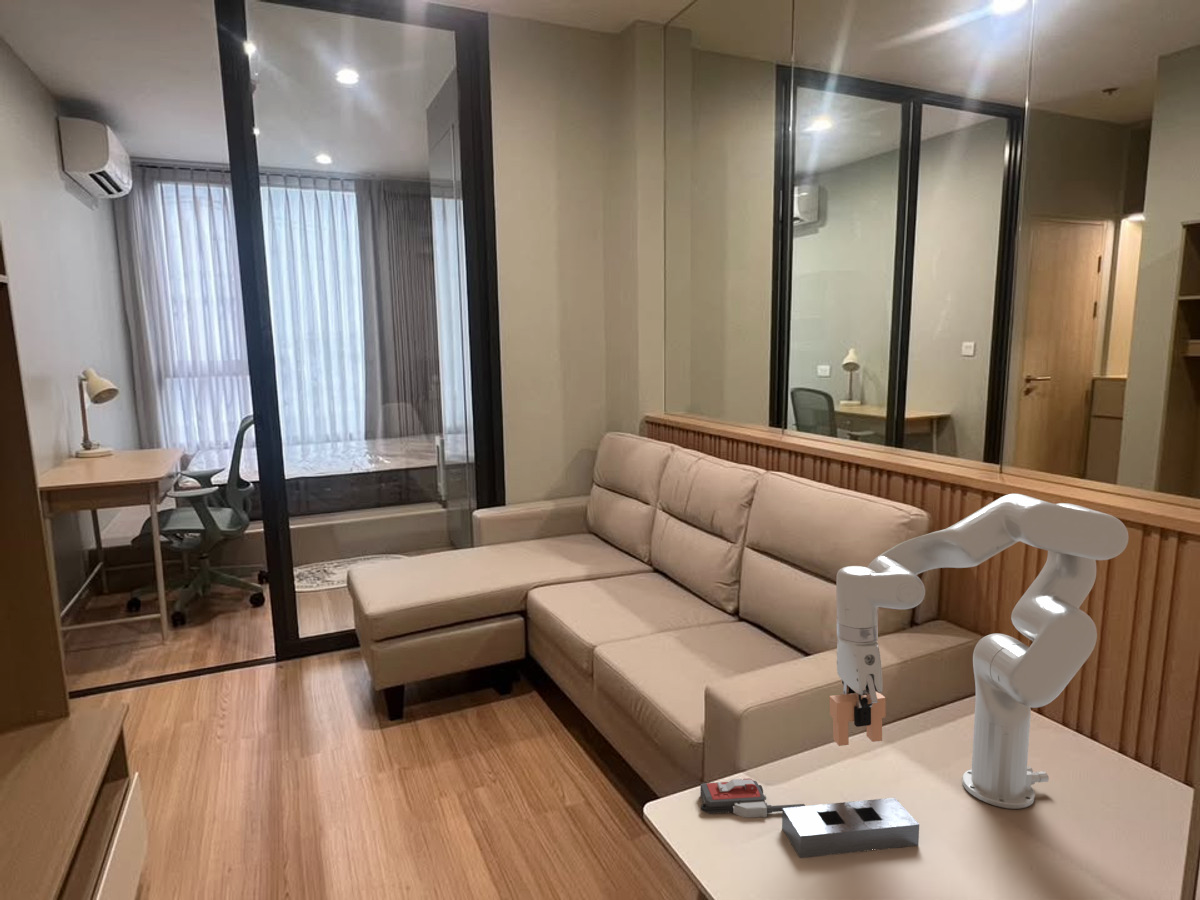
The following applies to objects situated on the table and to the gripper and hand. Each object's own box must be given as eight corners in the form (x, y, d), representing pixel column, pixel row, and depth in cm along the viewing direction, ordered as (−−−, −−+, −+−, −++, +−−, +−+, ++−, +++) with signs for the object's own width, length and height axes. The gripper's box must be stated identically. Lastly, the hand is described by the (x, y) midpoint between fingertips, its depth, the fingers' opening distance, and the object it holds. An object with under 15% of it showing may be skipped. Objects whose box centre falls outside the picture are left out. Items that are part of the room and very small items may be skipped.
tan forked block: (877, 733, 144) (877, 690, 143) (885, 741, 140) (885, 697, 139) (830, 739, 142) (829, 695, 141) (837, 747, 139) (837, 703, 138)
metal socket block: (893, 817, 134) (894, 797, 134) (918, 845, 126) (919, 824, 126) (782, 828, 131) (782, 808, 131) (799, 857, 124) (800, 836, 123)
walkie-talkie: (704, 823, 134) (807, 816, 135) (704, 801, 133) (808, 794, 135) (693, 795, 142) (791, 789, 144) (693, 774, 142) (791, 769, 144)
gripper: (898, 644, 131) (898, 739, 133) (854, 614, 147) (855, 699, 150) (859, 648, 130) (860, 744, 132) (820, 618, 146) (821, 703, 149)
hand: (857, 719), depth 141 cm, fingers closed on tan forked block, 3 cm apart
